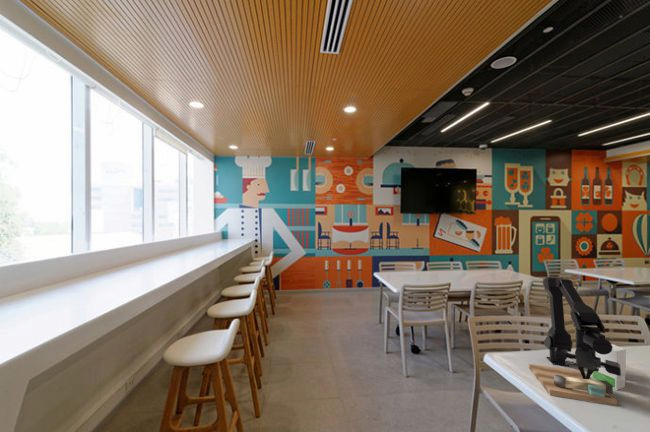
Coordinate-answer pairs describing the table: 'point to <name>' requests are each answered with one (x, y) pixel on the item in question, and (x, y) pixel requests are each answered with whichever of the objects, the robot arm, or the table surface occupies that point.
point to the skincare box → (615, 380)
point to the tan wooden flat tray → (591, 395)
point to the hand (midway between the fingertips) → (585, 382)
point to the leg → (581, 383)
